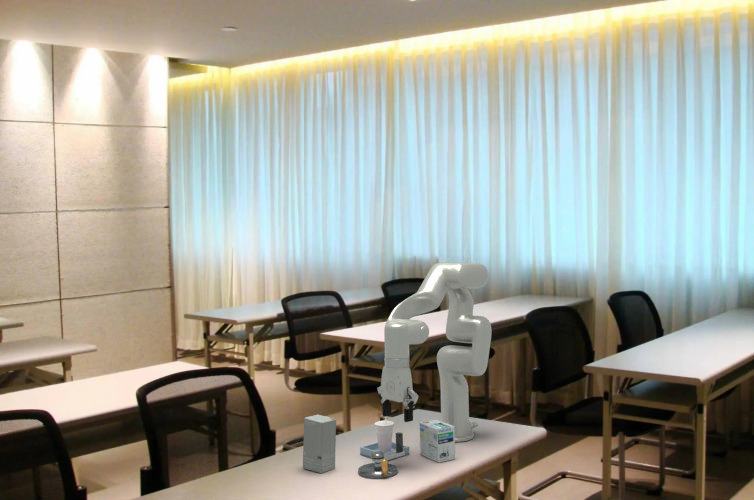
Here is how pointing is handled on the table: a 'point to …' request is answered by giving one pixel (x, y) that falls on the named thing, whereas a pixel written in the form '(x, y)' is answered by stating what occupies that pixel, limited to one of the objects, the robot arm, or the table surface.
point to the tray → (374, 448)
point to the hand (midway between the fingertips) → (397, 418)
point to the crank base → (378, 470)
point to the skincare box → (319, 443)
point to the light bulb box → (437, 440)
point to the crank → (399, 452)
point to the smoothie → (384, 435)
